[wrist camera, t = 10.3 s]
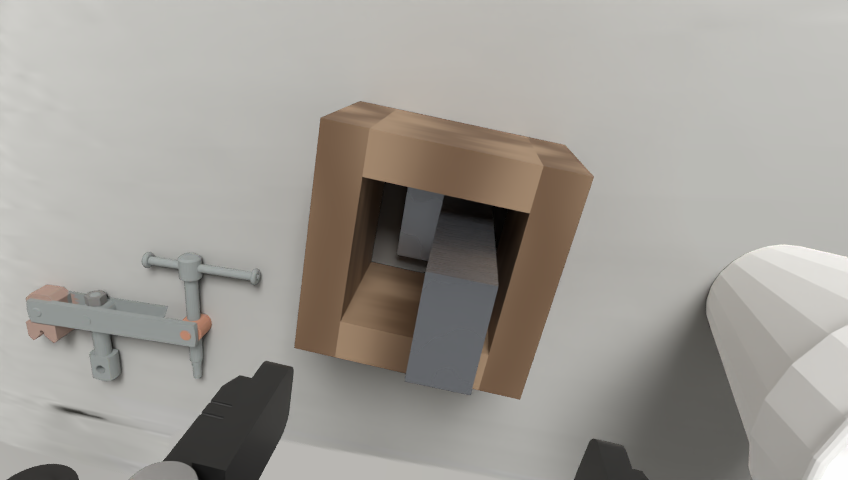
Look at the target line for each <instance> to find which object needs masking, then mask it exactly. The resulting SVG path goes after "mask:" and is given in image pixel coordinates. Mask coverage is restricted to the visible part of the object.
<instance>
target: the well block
mask: <svg viewBox="0 0 848 480" xmlns="http://www.w3.org/2000/svg"><path fill="white" fill-rule="evenodd" d="M593 178H594V176H593V175H592V174H591V173H590V172H589V171H588V170H587V169H586V168H585V166H584V165H583V164H582V163H581V162H580V161H579V160H578V159H577V158H576V157H575V155H574V154H573V153H572V152H571V151H570V150H569V149H568V148H567V147H566V146H565V145H562V144H558V143H553V142H548V141H544V140H539V139H534V138H530V137H525V136H520V135H516V134H511V133H506V132H502V131H497V130H492V129H488V128H483V127H478V126H474V125H469V124H464V123H460V122H455V121H450V120H446V119H441V118H436V117H432V116H427V115H422V114H418V113H413V112H408V111H404V110H399V109H394V108H390V107H385V106H380V105H376V104H371V103H366V102H362V101H359V102H357V103H355V104H352V105H350V106H348V107H345V108H343V109H340V110H338V111H336V112H333V113H331V114H329V115H326V116H324V117H321V119H320V128H319V136H318V145H317V154H316V163H315V171H314V180H313V189H312V198H311V206H310V215H309V224H308V233H307V242H306V250H305V259H304V268H303V277H302V285H301V294H300V303H299V312H298V320H297V329H296V338H295V347H294V348H297V349H302V350H306V351H310V352H315V353H319V354H323V355H328V356H332V357H336V358H341V359H345V360H350V361H354V362H358V363H363V364H367V365H371V366H376V367H380V368H384V369H389V370H393V371H398V372H402V373H406V371H407V366H408V361H409V355H410V350H411V345H412V340H413V335H414V329H415V324H416V319H417V314H418V309H419V304H420V298H421V293H422V288H423V283H424V278H425V274H424V273H419V272H415V271H410V270H406V269H401V268H397V267H393V266H388V265H384V264H379V263H375V262H371V260H372V254H373V248H374V242H375V236H376V230H377V224H378V219H379V213H380V207H381V201H382V195H383V189H384V183H385V182H388V183H393V184H397V185H402V186H407V187H411V188H416V189H420V190H425V191H429V192H434V193H439V194H443V195H448V196H452V197H457V198H461V199H466V200H471V201H475V202H480V203H484V204H489V205H493V206H498V207H503V208H507V209H508V211H507V214H506V218H505V222H504V225H503V229H502V233H501V236H500V240H499V244H498V247H497V251H496V261H497V273H498V285H499V287H498V290H497V294H496V298H495V302H494V306H493V310H492V314H491V318H490V322H489V326H488V329H487V333H486V337H485V341H484V345H483V349H482V353H481V357H480V361H479V365H478V368H477V372H476V376H475V380H474V384H473V388H472V389H476V390H480V391H485V392H489V393H494V394H498V395H502V396H507V397H511V398H515V399H520V398H521V395H522V392H523V389H524V386H525V383H526V380H527V377H528V374H529V371H530V368H531V365H532V362H533V359H534V356H535V353H536V350H537V347H538V344H539V341H540V338H541V335H542V332H543V329H544V326H545V323H546V320H547V317H548V314H549V311H550V307H551V304H552V301H553V298H554V295H555V292H556V289H557V286H558V283H559V280H560V277H561V274H562V271H563V268H564V265H565V262H566V259H567V256H568V253H569V250H570V247H571V244H572V241H573V238H574V235H575V232H576V229H577V226H578V223H579V220H580V217H581V214H582V211H583V208H584V205H585V202H586V199H587V196H588V193H589V190H590V187H591V184H592V181H593Z"/></svg>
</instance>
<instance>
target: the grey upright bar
mask: <svg viewBox="0 0 848 480" xmlns="http://www.w3.org/2000/svg"><path fill="white" fill-rule="evenodd" d="M397 255H401V256H406V257H411V258H416V259H421V260H426V261H428V264H427V268H426V272H425V278H424V283H423V288H422V293H421V298H420V304H419V309H418V314H417V319H416V324H415V329H414V335H413V340H412V345H411V350H410V355H409V361H408V366H407V371H406V376H405V382H410V383H415V384H420V385H424V386H429V387H434V388H438V389H443V390H448V391H453V392H457V393H462V394H467V395H471V392H472V388H473V384H474V380H475V376H476V372H477V368H478V365H479V361H480V357H481V353H482V349H483V345H484V341H485V337H486V333H487V329H488V326H489V322H490V318H491V314H492V310H493V306H494V302H495V298H496V294H497V290H498V287H499V285H498V273H497V261H496V249H495V236H494V224H493V212H492V205H489V204H484V203H480V202H475V201H471V200H466V199H461V198H457V197H452V196H448V195H443V194H439V193H434V192H429V191H425V190H420V189H416V188H411V187H408V190H407V196H406V202H405V208H404V214H403V220H402V226H401V232H400V238H399V244H398V250H397Z"/></svg>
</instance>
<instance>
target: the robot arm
mask: <svg viewBox="0 0 848 480" xmlns="http://www.w3.org/2000/svg"><path fill="white" fill-rule="evenodd" d="M292 382H293V367H290V366H286V365H282V364H277V363H273V362H269V361H265V362H263V364H262V365H261V366H260V368H259V369H258V370H257V372H256V373H255V375H254V376H253V377H252V378H249V377H245V376H238V377H236V378H235V379H233V380H231V381H230V382H228V383H227V384H225V385H223V386H222V387H221V389H220V390H219V391H218V392H217V394H216V395H215V396H214V397H213V399H212V400H211V403H209V404H208V405H207V406H206V408H205V409H204V410H203V411H202V414H201V415H199V416H198V418H197V419H196V420H195V421H194V423H193V424H192V425H191V427H190V428H189V429H188V430H187V432H186V433H185V434H184V435H183V437H182V438H181V439H180V440H179V442H178V443H177V444H176V446H175V447H174V448H173V449H172V451H171V452H170V453H169V454H168V456H167V457H166V458H165V459H164V460H163V461H162V462H158V463H154V464H151V465H149V466H147V467H144V468H143V469H141V470H139V471H138V472H136V473H135V474H134V475H133V476H132V477H131V478H130V479H129V480H259V478H260V476H261V474H262V472H263V470H264V468H265V466H266V465H267V463H268V461H269V459H270V457H271V455H272V453H273V451H274V450H275V448H276V446H277V444H278V442H279V440H280V438H281V436H282V434H283V432H284V429H285V426H286V423H287V420H288V415H289V408H290V400H291V391H292ZM7 480H79V479H78V475H77V474H76V472H75V471H74V470H73V469H72V468H70V467H68V466H64V465H59V464H46V465H40V466H35V467H32V468H29V469H26V470H24V471H21V472H19V473H17V474H15V475H14V476H12V477H10V478H9V479H7ZM574 480H648V478H647V477H646V476H645V475H644V473H643V472H642V471H639V470H635V469H632V466H631V464H630V461H629V458H628V455H627V452H626V450H625V448H624V447H623V446H622V445H619V444H615V443H611V442H606V441H602V440H598V439H592V440H591V441H590V442H589V444H588V446H587V449H586V451H585V454H584V456H583V459H582V461H581V464H580V466H579V468H578V471H577V473H576V476H575V478H574Z"/></svg>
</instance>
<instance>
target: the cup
mask: <svg viewBox="0 0 848 480" xmlns="http://www.w3.org/2000/svg"><path fill="white" fill-rule="evenodd" d="M706 315H707V318H708V321H709V325H710V328H711V331H712V334H713V337H714V340H715V343H716V346H717V349H718V351H719V354H720V357H721V360H722V363H723V366H724V369H725V372H726V375H727V378H728V381H729V384H730V387H731V390H732V393H733V396H734V399H735V402H736V405H737V408H738V411H739V414H740V417H741V420H742V423H743V426H744V429H745V432H746V435H747V438H748V441H749V462H748V468H749V471H750V474H751V477H752V480H848V257H845V256H841V255H836V254H832V253H827V252H823V251H819V250H814V249H810V248H805V247H801V246H793V245H784V244H783V245H774V246H766V247H763V248H760V249H757V250H754V251H751V252H748V253H746V254H744V255H743V256H741V257H739V258H738V259H736V260H734V261H733V262H731V263H730V264H729V265H728V266H727V267H726V268H725V269H724V270H723V271H722V272H721V273H720V274H719V275H718V277H717V278H716V280H715V281H714V283H713V284H712V286H711V288H710V291H709V294H708V297H707V300H706Z"/></svg>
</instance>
